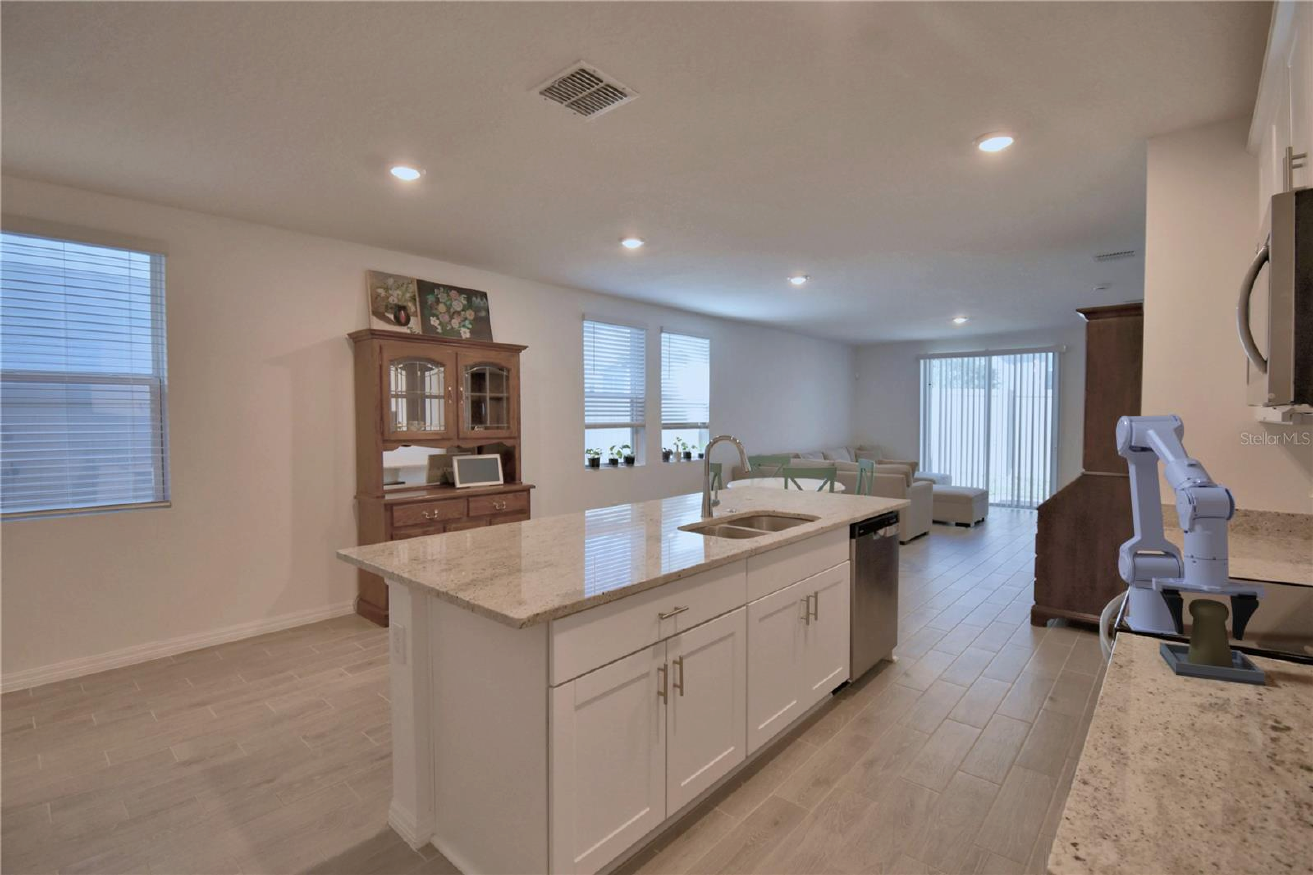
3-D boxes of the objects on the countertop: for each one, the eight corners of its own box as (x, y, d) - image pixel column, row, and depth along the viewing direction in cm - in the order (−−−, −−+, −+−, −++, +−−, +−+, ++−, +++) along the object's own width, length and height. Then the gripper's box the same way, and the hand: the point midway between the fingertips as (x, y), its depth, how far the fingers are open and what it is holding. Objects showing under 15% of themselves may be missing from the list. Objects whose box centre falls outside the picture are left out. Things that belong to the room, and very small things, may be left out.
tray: (1159, 653, 114) (1159, 642, 114) (1240, 662, 109) (1239, 650, 109) (1175, 674, 104) (1175, 662, 104) (1265, 685, 99) (1265, 673, 99)
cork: (1235, 673, 103) (1233, 607, 103) (1187, 665, 106) (1185, 601, 106) (1232, 662, 107) (1230, 599, 107) (1186, 655, 111) (1185, 594, 111)
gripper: (1158, 558, 106) (1160, 637, 106) (1272, 564, 99) (1274, 648, 100) (1148, 551, 113) (1150, 625, 113) (1255, 556, 106) (1257, 635, 106)
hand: (1207, 635), depth 106 cm, fingers open, 7 cm apart
